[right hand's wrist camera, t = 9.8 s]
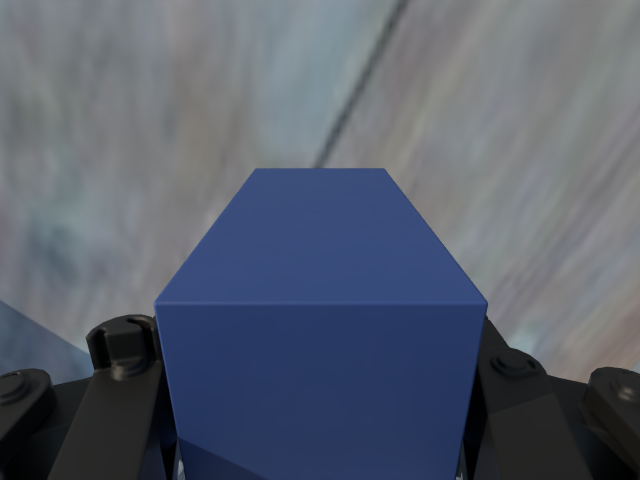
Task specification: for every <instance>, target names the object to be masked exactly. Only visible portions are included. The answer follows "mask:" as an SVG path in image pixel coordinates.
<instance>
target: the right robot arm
mask: <svg viewBox="0 0 640 480" xmlns="http://www.w3.org/2000/svg"><path fill="white" fill-rule="evenodd" d="M86 340H87V344H88V348H89V351H90V355H91V359H92V363H93V366H94V370H95V371H94V374H93V376H92V377H89V378H85V379H81V380H77V381H72V382H67V383H63V384H58V385H53V384H52V381H51V378H50V375H49V374H48V373H46V372H45V371H44V370H40V369H24V370H18V371H13V372H11V373H7V374H4V375H2V376H0V480H177V476H178V467H179V458H180V447H179V441H178V435H177V429H176V424H175V418H174V413H173V407H172V402H171V397H170V391H169V386H168V380H167V375H166V369H165V364H164V358H163V353H162V347H161V342H160V336H159V331H158V326H157V320H156V315H155V316H154V317H153V318H152V317H150V316H146V315H126V316H121V317H116V318H113V319H111V320H108V321H106V322H103V323H102V324H100V325H98V326H97V327H95V328H94V329H92V330H91V331H90V333H89V334H88V335H87V336H86ZM461 473H462V476H463V480H640V374H639V373H636V372H633V371H629V370H626V369H622V368H614V367H603V368H597V369H596V370H595V371H594V372H592V373H591V376H590V379H589V382H588V384H586V383H581V382H576V381H571V380H567V379H562V378H557V377H554V376H550V375H547V373H546V371H545V369H544V368H543V367H542V365H541V364H540V363H539V362H538V361H537V360H536V359H534V358H533V357H532V356H530V355H529V354H526V353H524V352H522V351H520V350H518V349H514V348H510V347H509V346H508V345H507V343H506V342H505V340H504V339H503V338H502V336H501V335H500V334H499V332H498V331H497V329H496V328H495V327H494V325H493V324H492V322H491V321H490V320H488V317H487V315H486V318H485V323H484V328H483V334H482V339H481V345H480V350H479V356H478V361H477V366H476V372H475V377H474V383H473V388H472V394H471V399H470V405H469V410H468V415H467V421H466V426H465V432H464V437H463V443H462V448H461V453H460V459H459V464H458V470H457V475H456V477H460V478H461Z"/></svg>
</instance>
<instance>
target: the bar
mask: <svg viewBox="0 0 640 480" xmlns="http://www.w3.org/2000/svg"><path fill="white" fill-rule="evenodd" d="M487 307H488V303H487V300H486V299H485V298H484V297H483V295H482V294H481V293H480V291H479V290H478V289H477V288H476V286H475V285H474V284H473V282H472V281H471V280H470V279H469V277H468V276H467V275H466V273H465V272H464V271H463V270H462V268H461V267H460V266H459V264H458V263H457V262H456V260H455V259H454V258H453V257H452V255H451V254H450V253H449V251H448V250H447V249H446V248H445V246H444V245H443V244H442V242H441V241H440V240H439V239H438V237H437V236H436V235H435V233H434V232H433V231H432V230H431V228H430V227H429V226H428V224H427V223H426V222H425V220H424V219H423V218H422V217H421V215H420V214H419V213H418V211H417V210H416V209H415V208H414V206H413V205H412V204H411V202H410V201H409V200H408V199H407V197H406V196H405V195H404V193H403V192H402V191H401V190H400V188H399V187H398V186H397V184H396V183H395V182H394V180H393V179H392V178H391V177H390V175H389V174H388V173H387V171H386V170H385V169H384V168H314V169H255V170H254V171H253V173H252V174H251V175H250V177H249V178H248V179H247V181H246V182H245V183H244V184H243V186H242V187H241V188H240V190H239V191H238V192H237V194H236V195H235V196H234V198H233V199H232V200H231V202H230V203H229V204H228V206H227V207H226V208H225V209H224V211H223V212H222V213H221V215H220V216H219V217H218V219H217V220H216V221H215V223H214V224H213V225H212V227H211V228H210V229H209V231H208V232H207V233H206V235H205V236H204V237H203V238H202V240H201V241H200V242H199V244H198V245H197V246H196V248H195V249H194V250H193V252H192V253H191V254H190V256H189V257H188V258H187V260H186V261H185V262H184V263H183V265H182V266H181V267H180V269H179V270H178V271H177V273H176V274H175V275H174V277H173V278H172V279H171V281H170V282H169V283H168V285H167V286H166V287H165V288H164V290H163V291H162V292H161V294H160V295H159V296H158V298H157V299H156V300H155V302H154V309H155V315H156V320H157V326H158V331H159V336H160V342H161V347H162V353H163V358H164V364H165V369H166V375H167V380H168V386H169V391H170V397H171V402H172V407H173V413H174V418H175V424H176V429H177V435H178V440H179V446H180V451H181V457H182V462H183V468H184V473H185V478H186V480H456V475H457V470H458V464H459V459H460V453H461V448H462V443H463V437H464V432H465V426H466V421H467V415H468V410H469V405H470V399H471V394H472V388H473V383H474V377H475V372H476V366H477V361H478V356H479V350H480V345H481V339H482V334H483V328H484V323H485V318H486V312H487Z"/></svg>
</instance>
